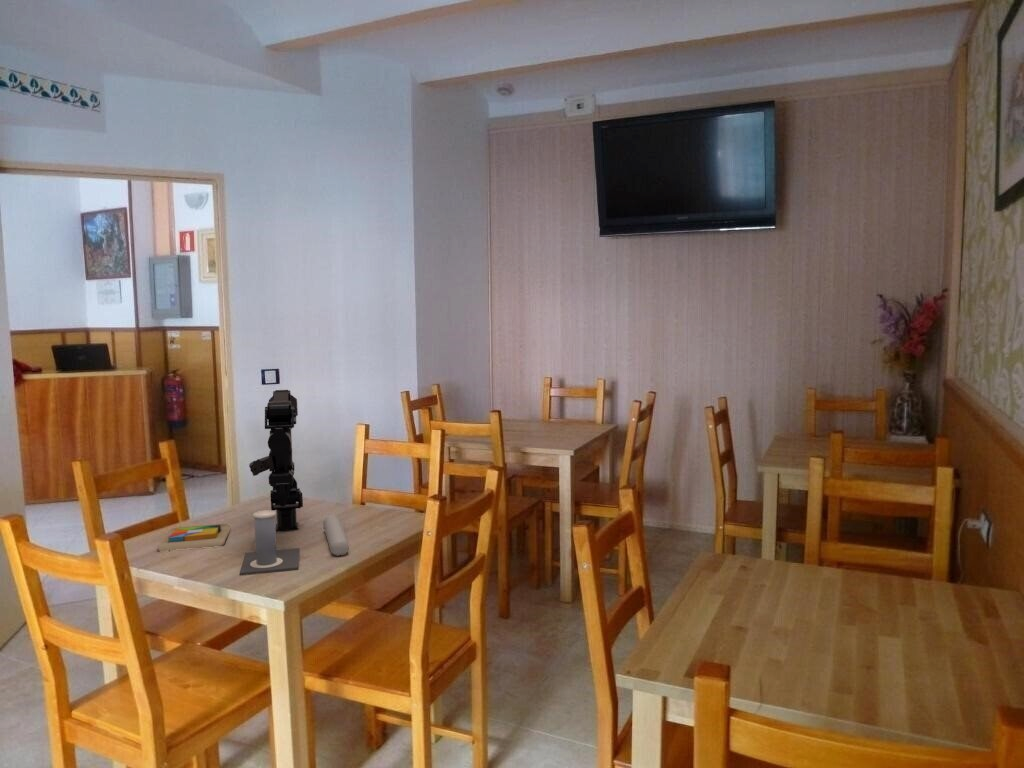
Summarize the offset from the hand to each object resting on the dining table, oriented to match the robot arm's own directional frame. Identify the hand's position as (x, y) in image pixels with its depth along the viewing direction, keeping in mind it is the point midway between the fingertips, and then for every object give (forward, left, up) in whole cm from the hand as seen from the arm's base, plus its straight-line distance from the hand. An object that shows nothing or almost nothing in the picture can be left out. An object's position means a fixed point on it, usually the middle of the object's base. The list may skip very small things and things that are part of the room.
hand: (283, 502), depth 208 cm
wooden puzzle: (-12, -25, -13) cm, 31 cm away
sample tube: (+17, -4, -11) cm, 21 cm away
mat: (+15, -3, -12) cm, 19 cm away
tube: (+4, +14, -12) cm, 19 cm away
